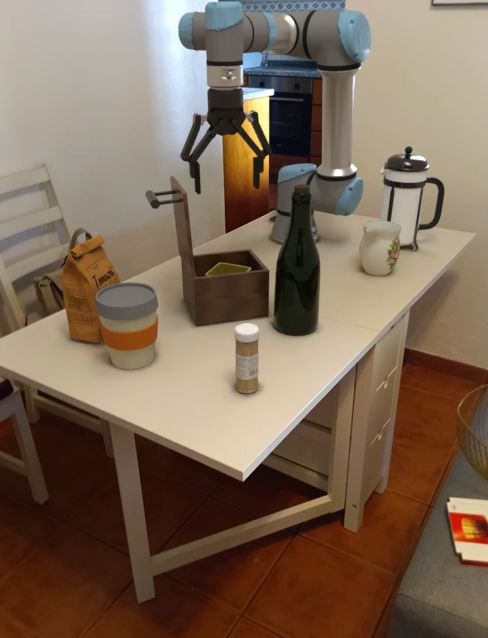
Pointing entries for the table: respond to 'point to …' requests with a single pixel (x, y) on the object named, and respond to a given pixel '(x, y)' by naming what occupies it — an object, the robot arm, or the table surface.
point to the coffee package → (86, 287)
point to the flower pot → (227, 269)
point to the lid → (178, 220)
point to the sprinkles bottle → (247, 357)
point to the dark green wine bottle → (298, 270)
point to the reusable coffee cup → (129, 323)
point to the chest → (226, 288)
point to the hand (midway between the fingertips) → (227, 190)
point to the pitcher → (380, 247)
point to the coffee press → (407, 195)
